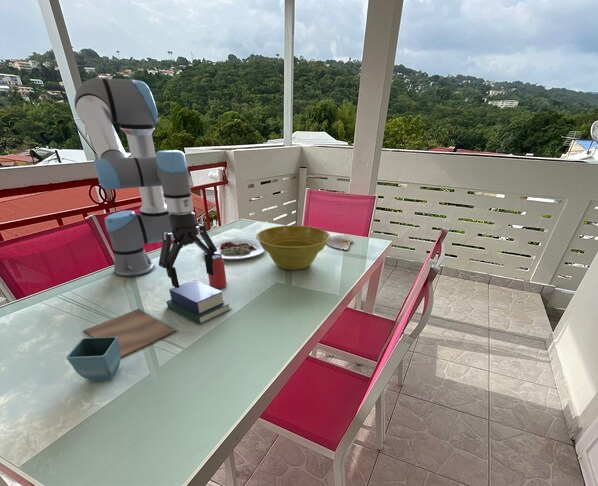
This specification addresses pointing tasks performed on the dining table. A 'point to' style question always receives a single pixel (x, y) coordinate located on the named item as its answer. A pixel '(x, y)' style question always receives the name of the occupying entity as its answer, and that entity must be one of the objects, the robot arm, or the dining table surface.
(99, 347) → the flower pot
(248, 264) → the dining table surface
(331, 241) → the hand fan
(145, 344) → the brown wooden board
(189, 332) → the dining table surface
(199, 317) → the green notebook
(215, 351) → the dining table surface
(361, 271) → the dining table surface
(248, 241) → the plated food
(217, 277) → the beer can
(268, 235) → the planter bowl
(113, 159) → the robot arm
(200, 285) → the navy book
